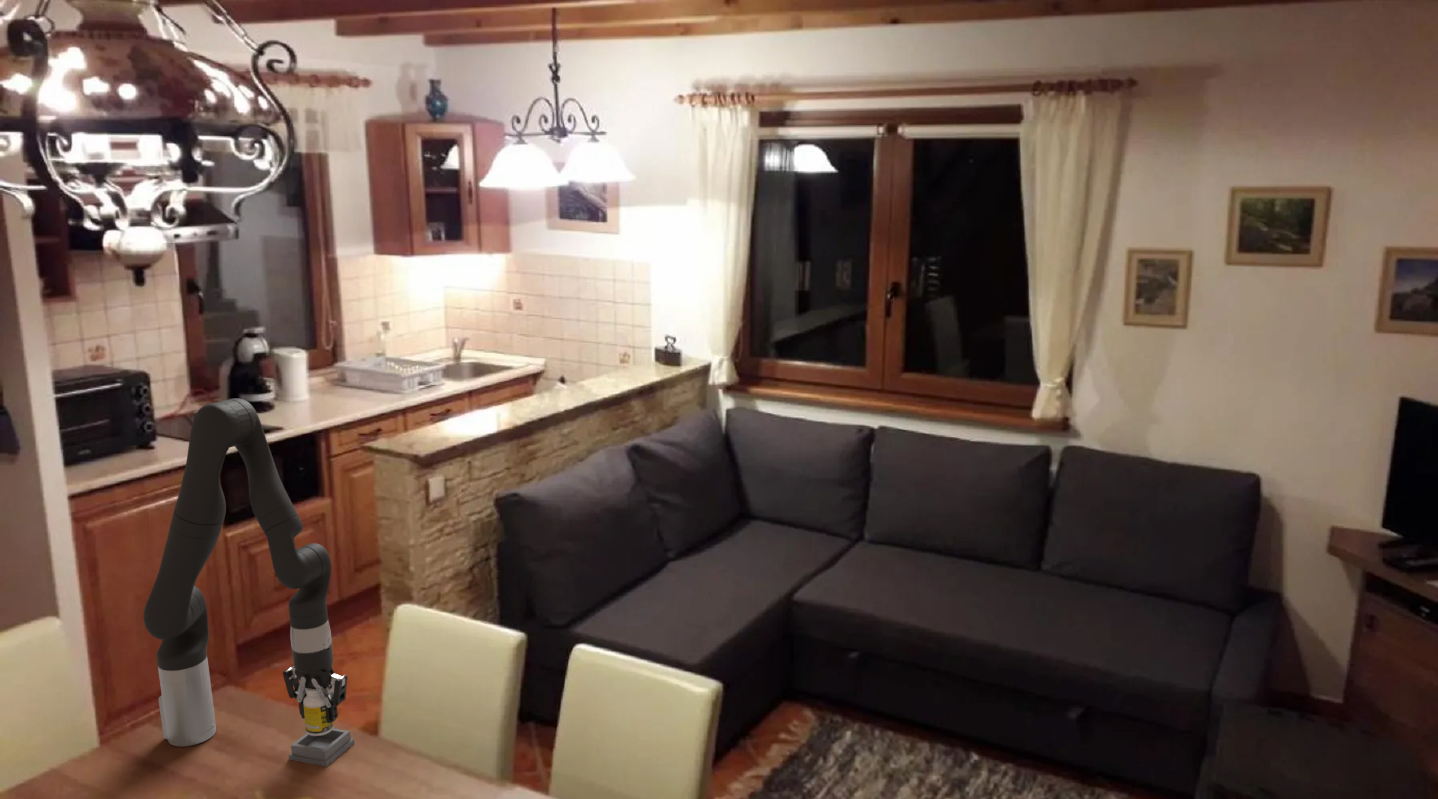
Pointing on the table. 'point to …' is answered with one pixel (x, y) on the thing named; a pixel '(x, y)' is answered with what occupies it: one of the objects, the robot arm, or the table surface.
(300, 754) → the square open box
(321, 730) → the supplement bottle
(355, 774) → the table surface
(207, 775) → the table surface
